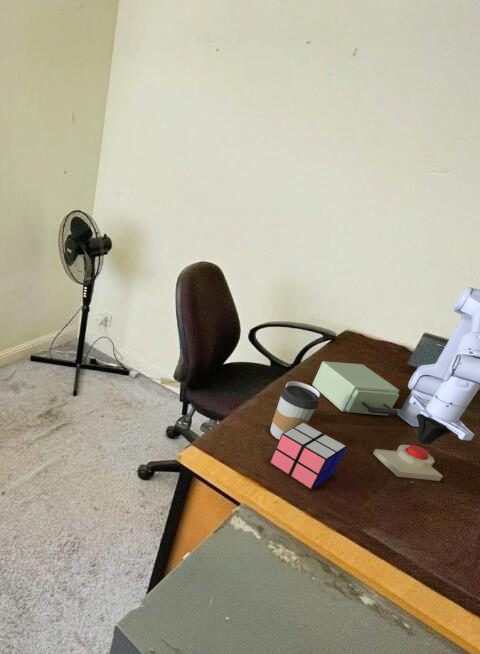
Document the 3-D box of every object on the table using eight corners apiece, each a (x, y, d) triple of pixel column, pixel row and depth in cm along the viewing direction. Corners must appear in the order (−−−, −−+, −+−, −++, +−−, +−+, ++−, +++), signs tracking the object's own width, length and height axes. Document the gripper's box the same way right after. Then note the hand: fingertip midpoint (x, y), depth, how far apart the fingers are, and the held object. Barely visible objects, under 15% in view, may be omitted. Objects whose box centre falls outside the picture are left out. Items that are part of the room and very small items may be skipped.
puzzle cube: (311, 490, 100) (327, 459, 96) (268, 462, 108) (281, 433, 104) (332, 476, 104) (348, 446, 100) (289, 450, 112) (302, 421, 108)
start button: (417, 450, 109) (420, 445, 108) (429, 460, 106) (432, 455, 105) (402, 449, 109) (405, 444, 109) (414, 459, 106) (417, 454, 105)
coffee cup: (294, 429, 120) (313, 388, 114) (305, 449, 113) (326, 405, 106) (261, 423, 122) (278, 381, 116) (270, 441, 115) (289, 398, 109)
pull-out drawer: (399, 424, 122) (412, 403, 119) (358, 421, 123) (369, 400, 120) (355, 389, 138) (365, 370, 135) (319, 386, 139) (328, 367, 136)
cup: (313, 426, 121) (326, 399, 117) (283, 422, 123) (295, 395, 119) (299, 409, 129) (310, 383, 125) (270, 405, 130) (281, 379, 126)
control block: (412, 455, 111) (419, 446, 110) (443, 481, 104) (450, 471, 102) (370, 451, 113) (375, 441, 111) (397, 476, 105) (403, 466, 103)
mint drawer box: (385, 415, 127) (399, 390, 123) (342, 411, 128) (354, 386, 124) (351, 388, 140) (362, 364, 136) (312, 384, 142) (322, 361, 138)
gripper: (407, 381, 107) (384, 422, 113) (461, 417, 94) (432, 461, 100) (436, 383, 107) (412, 424, 112) (495, 420, 93) (464, 464, 99)
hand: (423, 442), depth 106 cm, fingers closed
